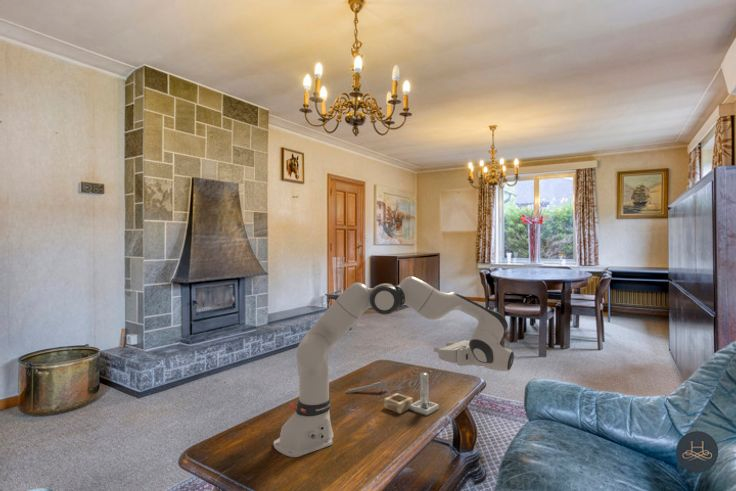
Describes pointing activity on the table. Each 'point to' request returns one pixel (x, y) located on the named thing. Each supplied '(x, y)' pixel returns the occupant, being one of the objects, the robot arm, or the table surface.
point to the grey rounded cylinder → (424, 390)
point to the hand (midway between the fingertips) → (441, 346)
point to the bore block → (398, 403)
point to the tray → (431, 409)
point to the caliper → (374, 386)
